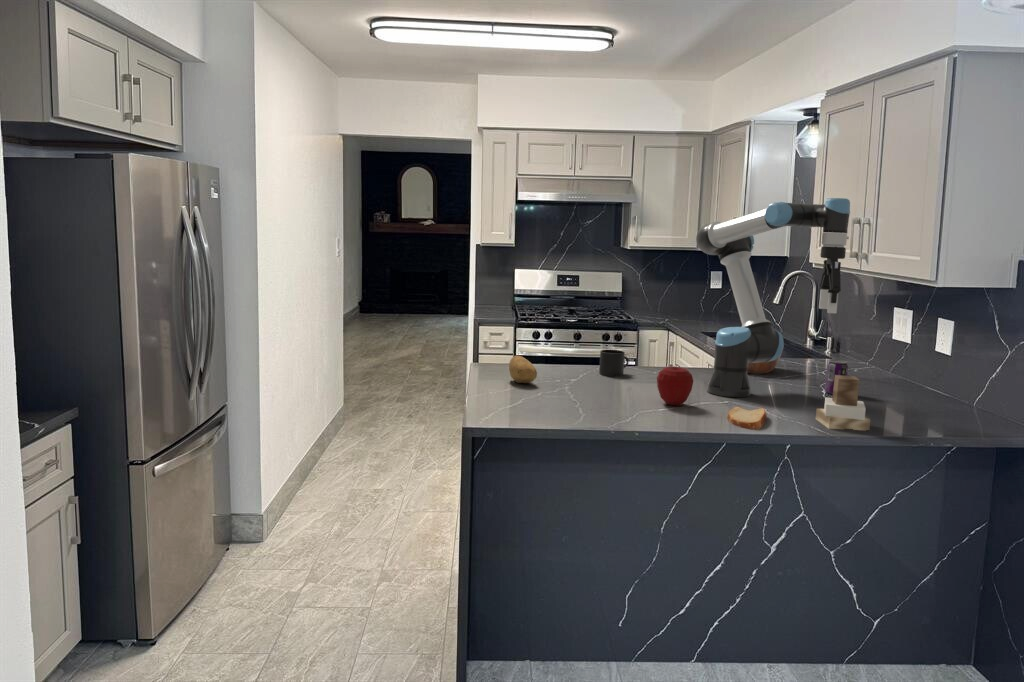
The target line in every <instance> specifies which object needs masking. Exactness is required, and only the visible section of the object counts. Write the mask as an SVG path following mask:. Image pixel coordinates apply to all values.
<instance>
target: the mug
mask: <svg viewBox="0 0 1024 682" xmlns="http://www.w3.org/2000/svg"><path fill="white" fill-rule="evenodd" d="M599 352H600V354H599V367H598V368H599V370H598V373H599V374H600V375H601V376H606V377H621V376H624V372H625V371H624V369H625V368H627V367H628V365H629V358H628V357H626V356H625V351H623V350H618V349H601V350H600V351H599ZM625 361H626V362H625Z"/></svg>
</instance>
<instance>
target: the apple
mask: <svg viewBox="0 0 1024 682" xmlns="http://www.w3.org/2000/svg"><path fill="white" fill-rule="evenodd" d="M656 384H657V391H658V392H659V393H658V394H659V396H660V399H662V400H663V401H664V402H665V404H667V405H670V406H678V407H679V406H682V405H683V404H684V403H686V402H687V400H688V399H689V398H688V397H689V395H690V394H691V392H692V389H693V384H694V377H693V375H692V373H691V372H690V371H689V370H688V369H686V368H684V367H677V365H675V366H665V367H664V368H662V369H661V370H659V372H658V374H657V377H656Z"/></svg>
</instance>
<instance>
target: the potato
mask: <svg viewBox="0 0 1024 682" xmlns="http://www.w3.org/2000/svg"><path fill="white" fill-rule="evenodd" d="M508 368H509V369H508V371H509V374H510V375H509V376H510V377H511V378H512V379H513V380H514V382H516V383H517V384H529V383H532V382H533V381H535V380H536V378H538V377H537V374H538V372H537V368H536V367H535V366H534V365H533V363H532V362H531V361H529V359H526V358H525V357H523V356H521V355H513V356H512V358H511V359H510V361H509V363H508Z"/></svg>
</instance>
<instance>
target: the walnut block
mask: <svg viewBox="0 0 1024 682" xmlns="http://www.w3.org/2000/svg"><path fill="white" fill-rule="evenodd" d="M859 389H860V379H859V378H858V377H857V376H854V375H853V376H852V375H847V376H842V375H835V378H834V388H833V394H832V397H831V398H832V400H833V402H834V403H835V404H837V405H850V406H857V401H859V399H858V398H859Z"/></svg>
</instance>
